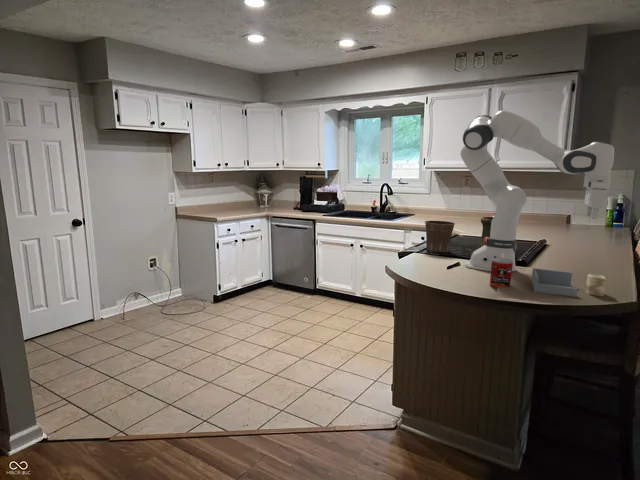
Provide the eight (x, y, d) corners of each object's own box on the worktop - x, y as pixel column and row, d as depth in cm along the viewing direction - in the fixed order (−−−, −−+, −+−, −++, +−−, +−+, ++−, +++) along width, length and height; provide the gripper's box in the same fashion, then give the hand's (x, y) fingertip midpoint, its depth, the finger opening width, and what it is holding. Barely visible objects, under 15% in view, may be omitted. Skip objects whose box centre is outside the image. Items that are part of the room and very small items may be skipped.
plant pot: (429, 246, 249) (431, 219, 246) (456, 250, 240) (459, 222, 237) (418, 251, 236) (420, 222, 233) (446, 255, 227) (449, 225, 224)
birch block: (587, 295, 159) (590, 277, 158) (585, 291, 164) (587, 274, 163) (603, 297, 158) (606, 278, 156) (600, 293, 162) (603, 275, 161)
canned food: (489, 288, 168) (492, 260, 166) (489, 282, 175) (491, 256, 173) (510, 290, 165) (513, 262, 163) (509, 285, 173) (512, 258, 171)
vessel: (500, 258, 222) (503, 220, 218) (474, 254, 231) (476, 217, 228) (510, 254, 232) (513, 218, 229) (484, 251, 242) (487, 216, 238)
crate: (533, 294, 161) (535, 277, 160) (531, 283, 176) (532, 268, 175) (576, 299, 156) (578, 282, 155) (569, 287, 171) (571, 272, 170)
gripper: (583, 182, 182) (578, 214, 184) (592, 183, 163) (586, 219, 166) (600, 183, 179) (595, 215, 182) (611, 184, 161) (605, 221, 163)
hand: (591, 217), depth 174 cm, fingers open, 8 cm apart
